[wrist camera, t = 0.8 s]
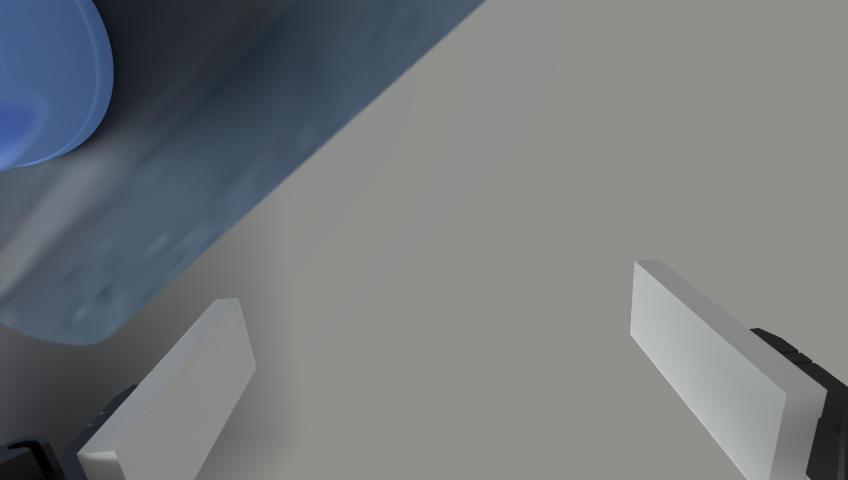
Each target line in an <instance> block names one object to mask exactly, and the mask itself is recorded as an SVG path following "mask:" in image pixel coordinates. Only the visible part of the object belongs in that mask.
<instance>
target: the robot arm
mask: <svg viewBox="0 0 848 480" xmlns="http://www.w3.org/2000/svg"><path fill="white" fill-rule="evenodd" d="M630 334H631V336H632V337H633V338H634V339H635V341H636V342H637V343H638V344H639V346H640V347H641V348H642V349H643V351H644V352H645V353H646V354H647V356H648V357H649V358H650V359H651V361H652V362H653V363H654V364H655V366H656V367H657V368H658V369H659V371H660V372H661V373H662V374H663V375H664V377H665V378H666V379H667V380H668V382H669V383H670V384H671V385H672V387H673V388H674V389H675V390H676V392H677V393H678V394H679V395H680V397H681V398H682V399H683V400H684V401H685V403H686V404H687V405H688V407H689V408H690V409H691V410H692V411H693V413H694V414H695V415H696V416H697V418H698V419H699V420H700V421H701V423H702V424H703V425H704V426H705V428H706V429H707V430H708V431H709V432H710V434H711V435H712V436H713V438H714V439H715V440H716V441H717V443H718V444H719V445H720V446H721V447H722V449H723V450H724V451H725V453H726V454H727V455H728V456H729V457H730V459H731V460H732V461H733V462H734V464H735V465H736V466H737V467H738V469H739V470H740V471H741V472H742V474H743V475H744V476H745V477H746V479H747V480H806V477H807V476H808V477H809V478H810V479H811V480H848V387H847V386H846V385H844V384H843V383H842V382H840V381H839V380H838V379H836V378H835V377H834V376H832V375H831V374H830V373H828V372H827V371H826V370H824V369H823V368H821V367H820V366H819V365H817V364H816V363H812V360H811V359H809V358H808V357H807V356H805V355H804V354H802V353H799V352H798V350H797V349H796V348H794V347H793V346H792V345H790V344H789V343H787V342H786V341H785V340H783V339H782V338H780V337H778V336H776V335H773V334H771V333H769V332H766V331H764V330H762V329H760V328H755V329H748V328H747V327H746V326H744V325H743V324H741V323H740V322H739V321H738V320H736V319H735V318H734V317H733V316H731V315H730V314H729V313H727V312H726V311H725V310H724V309H722V308H721V307H720V306H718V305H717V304H716V303H715V302H713V301H712V300H711V299H709V298H708V297H707V296H706V295H704V294H703V293H702V292H701V291H699V290H698V289H697V288H695V287H694V286H693V285H692V284H690V283H689V282H687V281H686V280H685V279H684V278H682V277H681V276H680V275H679V274H678V273H676V272H675V271H674V270H672V269H671V268H670V267H669V266H667V265H666V264H665V263H663V262H662V261H661V260H660V259H649V260H639V261H635V265H634V282H633V298H632V315H631V331H630ZM255 369H256V364H255V361H254V357H253V353H252V349H251V345H250V341H249V338H248V334H247V330H246V326H245V322H244V319H243V315H242V311H241V308H240V303H239V300H238V298H232V299H220V300H215V301H214V302H213V303H212V304H211V305H210V307H209V308H208V309H207V310H206V311H205V312H204V313H203V314H202V315H201V317H200V318H199V319H198V320H197V321H196V322H195V323H194V324H193V325H192V327H191V328H190V329H189V330H188V331H187V332H186V333H185V334H184V335H183V337H182V338H181V339H180V340H179V341H178V342H177V343H176V345H175V346H174V347H173V348H172V349H171V350H170V351H169V352H168V353H167V354H166V355H165V357H164V358H163V359H162V360H161V361H160V362H159V363H158V364H157V365H156V367H155V368H154V369H153V370H152V371H151V372H150V373H149V374H148V375H147V377H146V378H145V379H144V380H143V381H142V382H141V383H140V384H139V385H132V386H131V387H130V388H128V389H127V390H125V391H124V392H122V393H121V394H119V395H118V396H116V397H115V398H114V399H112V401H111V402H110V403H109V404H108V405H107V406H106V407H105V408H104V409H103V410H102V411H101V412H100V416H97V417H96V418H95V419H94V420H93V421H92V422H91V423H90V424H89V427H88V428H85V430H83V431H82V432H81V434H80V435H79V436H78V437H77V438H76V439H75V440H74V441H73V442H72V443H71V444H70V445H69V446H68V447H67V448H66V449H65V451H64V452H63V453H62V454H61V455H60V456H59V457H58V458H56V455H55V453H54V451H53V449H52V447H51V445H50V443H49V441H48V440H47V438H46V437H44V436H38V435H34V436H28V437H23V438H20V439H17V440H14V441H11V442H8V443H6V444H4V445H2V446H0V480H194V479H195V477H196V475H197V474H198V472H199V470H200V468H201V466H202V465H203V463H204V461H205V459H206V457H207V455H208V454H209V452H210V450H211V448H212V447H213V445H214V443H215V441H216V439H217V438H218V436H219V434H220V432H221V430H222V428H223V427H224V425H225V423H226V421H227V419H228V418H229V416H230V414H231V412H232V410H233V409H234V407H235V405H236V403H237V401H238V400H239V398H240V396H241V394H242V392H243V391H244V389H245V387H246V385H247V383H248V381H249V380H250V378H251V376H252V374H253V373H254V371H255Z"/></svg>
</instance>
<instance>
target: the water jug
mask: <svg viewBox="0 0 848 480" xmlns="http://www.w3.org/2000/svg"><path fill="white" fill-rule="evenodd" d="M113 81H114V66H113V56H112V50H111V45H110V41H109V38H108V34H107V31H106V28H105V26H104V23H103V21H102V18H101V16H100V14H99V12H98V10H97V8H96V6H95V4H94V2H93V1H92V0H0V172H2V171H5V170H8V169H12V168H15V167H19V166H26V165H32V164H36V163H39V162H43V161H46V160H49V159H52V158H55V157H58V156H61V155H63V154H65V153H67V152H69V151H71V150H73V149H74V148H76V147H77V146H79V145H80V144H81V143H83V142H84V141H85V140H86V139H87V138H88V137H89V136H90V135H91V134H92V133H93V132H94V131H95V130H96V128H97V127H98V126H99V124H100V122H101V121H102V119H103V117H104V115H105V113H106V111H107V108H108V106H109V103H110V99H111V95H112V90H113Z"/></svg>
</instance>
